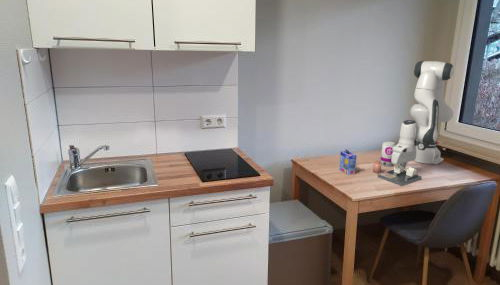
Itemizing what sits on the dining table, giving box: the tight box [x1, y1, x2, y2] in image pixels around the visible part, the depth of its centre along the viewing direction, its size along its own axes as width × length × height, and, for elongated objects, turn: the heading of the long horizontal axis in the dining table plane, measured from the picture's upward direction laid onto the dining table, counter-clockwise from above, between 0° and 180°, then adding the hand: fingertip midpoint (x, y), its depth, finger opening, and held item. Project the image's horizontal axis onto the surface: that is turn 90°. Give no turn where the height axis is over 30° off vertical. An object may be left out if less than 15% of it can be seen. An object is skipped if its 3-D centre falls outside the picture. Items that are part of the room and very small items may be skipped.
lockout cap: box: [372, 160, 383, 174], centre depth 226 cm, size 5×5×7 cm
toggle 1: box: [393, 164, 405, 173], centre depth 221 cm, size 4×4×5 cm
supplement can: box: [379, 141, 397, 167], centre depth 240 cm, size 8×8×15 cm
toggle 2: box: [405, 166, 418, 176], centre depth 216 cm, size 4×4×5 cm
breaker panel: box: [377, 169, 422, 186], centre depth 217 cm, size 20×16×3 cm
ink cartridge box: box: [338, 148, 357, 176], centre depth 225 cm, size 10×6×14 cm, turn 20°
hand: (402, 168), depth 223 cm, fingers closed
